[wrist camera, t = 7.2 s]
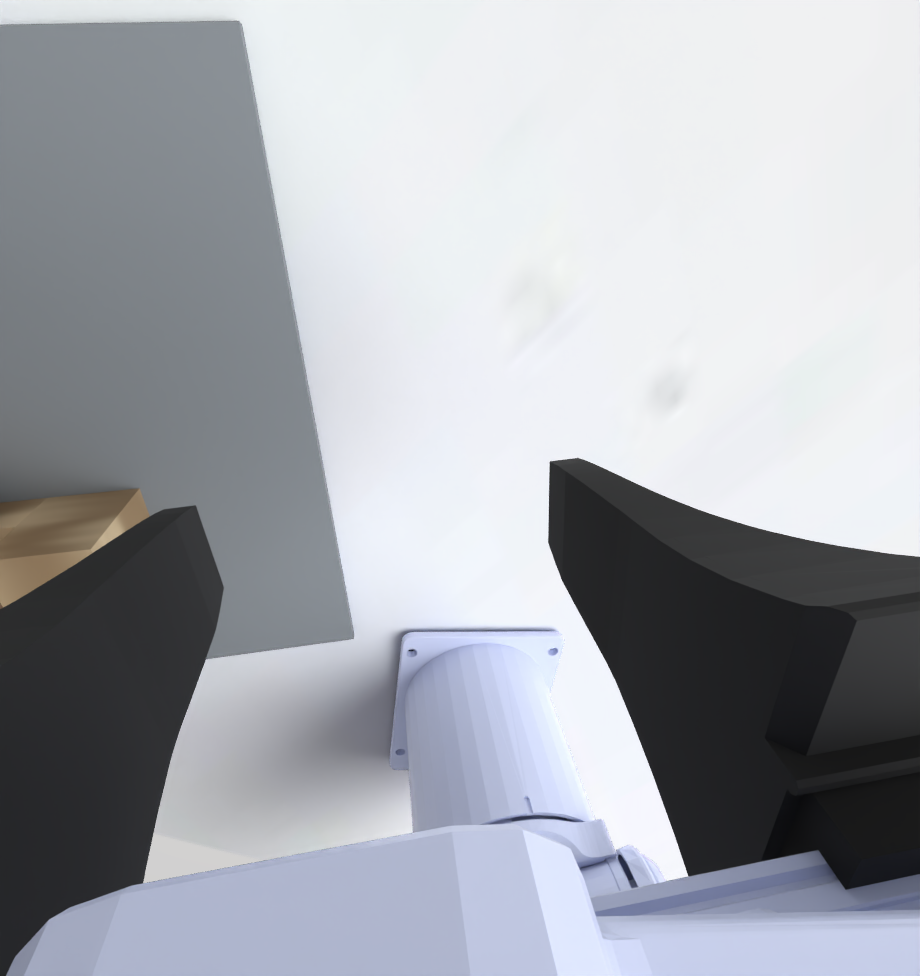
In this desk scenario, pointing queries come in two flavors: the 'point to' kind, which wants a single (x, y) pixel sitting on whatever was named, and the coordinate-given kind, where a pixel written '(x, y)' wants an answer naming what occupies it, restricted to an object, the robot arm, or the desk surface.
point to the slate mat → (160, 311)
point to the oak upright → (59, 535)
